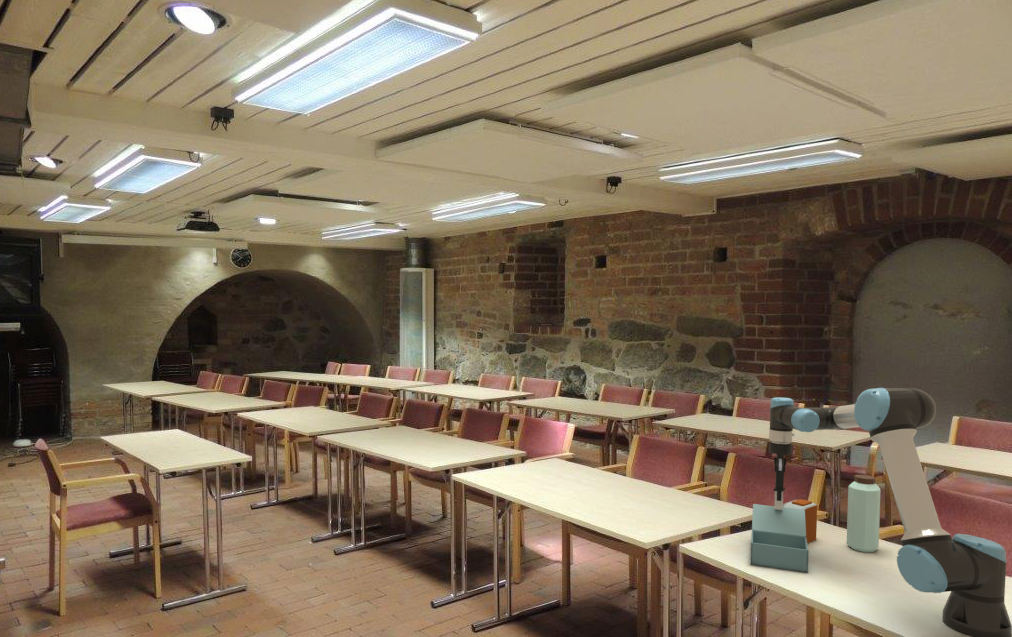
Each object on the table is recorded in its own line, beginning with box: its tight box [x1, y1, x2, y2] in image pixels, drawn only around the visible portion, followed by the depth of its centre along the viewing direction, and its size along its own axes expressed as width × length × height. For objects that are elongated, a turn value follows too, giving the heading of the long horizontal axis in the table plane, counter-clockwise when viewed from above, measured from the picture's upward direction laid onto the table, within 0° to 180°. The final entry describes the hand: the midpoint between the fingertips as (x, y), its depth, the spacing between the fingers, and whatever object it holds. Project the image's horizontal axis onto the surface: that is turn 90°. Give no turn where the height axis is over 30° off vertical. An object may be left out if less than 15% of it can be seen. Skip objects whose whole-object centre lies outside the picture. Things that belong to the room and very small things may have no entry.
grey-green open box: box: [750, 529, 809, 573], centre depth 228 cm, size 14×17×7 cm
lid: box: [751, 503, 806, 537], centre depth 241 cm, size 14×17×1 cm
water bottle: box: [846, 474, 881, 553], centre depth 243 cm, size 10×10×25 cm
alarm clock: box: [783, 498, 818, 544], centre depth 250 cm, size 15×8×14 cm, turn 130°
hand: (778, 509), depth 245 cm, fingers closed
